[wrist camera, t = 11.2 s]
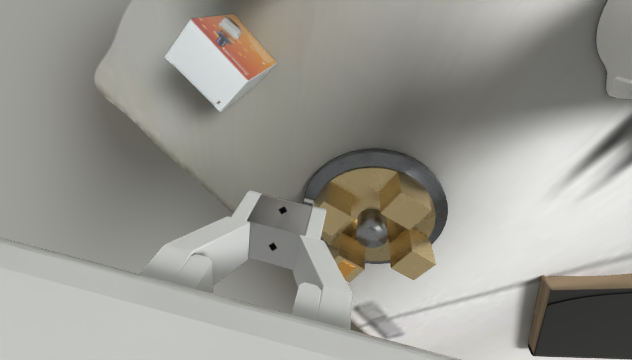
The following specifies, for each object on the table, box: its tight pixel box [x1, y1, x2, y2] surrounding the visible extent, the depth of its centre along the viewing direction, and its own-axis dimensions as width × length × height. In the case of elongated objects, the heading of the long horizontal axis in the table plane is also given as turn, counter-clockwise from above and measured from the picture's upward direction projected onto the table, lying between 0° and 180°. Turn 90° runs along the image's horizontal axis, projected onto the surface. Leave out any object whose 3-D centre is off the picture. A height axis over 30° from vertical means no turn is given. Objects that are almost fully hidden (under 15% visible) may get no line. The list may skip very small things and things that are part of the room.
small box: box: [165, 14, 277, 112], centre depth 34 cm, size 8×6×10 cm
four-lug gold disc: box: [312, 166, 436, 282], centre depth 45 cm, size 20×20×6 cm
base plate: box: [304, 149, 448, 264], centre depth 48 cm, size 24×24×2 cm
